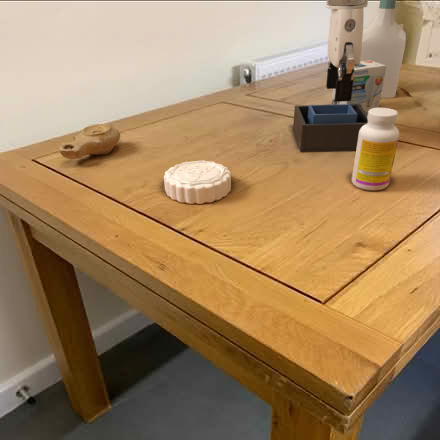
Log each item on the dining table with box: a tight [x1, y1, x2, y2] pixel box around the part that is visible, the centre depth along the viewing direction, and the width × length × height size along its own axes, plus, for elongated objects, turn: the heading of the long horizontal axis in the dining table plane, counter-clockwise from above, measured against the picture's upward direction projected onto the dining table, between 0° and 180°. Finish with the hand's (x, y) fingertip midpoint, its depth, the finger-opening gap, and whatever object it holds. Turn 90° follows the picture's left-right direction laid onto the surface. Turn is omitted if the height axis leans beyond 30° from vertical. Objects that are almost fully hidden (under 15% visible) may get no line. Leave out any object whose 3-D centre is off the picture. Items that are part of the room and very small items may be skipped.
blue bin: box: [307, 104, 357, 124], centre depth 101 cm, size 9×7×6 cm
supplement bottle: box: [351, 107, 400, 191], centre depth 81 cm, size 7×7×13 cm
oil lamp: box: [58, 123, 121, 160], centre depth 98 cm, size 11×14×5 cm
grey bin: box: [292, 104, 368, 153], centre depth 101 cm, size 15×14×6 cm
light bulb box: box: [330, 60, 386, 114], centre depth 116 cm, size 11×7×11 cm, turn 114°
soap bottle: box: [360, 0, 407, 99], centre depth 121 cm, size 11×8×27 cm
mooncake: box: [163, 159, 232, 205], centre depth 84 cm, size 12×12×4 cm
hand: (338, 94), depth 97 cm, fingers open, 9 cm apart
